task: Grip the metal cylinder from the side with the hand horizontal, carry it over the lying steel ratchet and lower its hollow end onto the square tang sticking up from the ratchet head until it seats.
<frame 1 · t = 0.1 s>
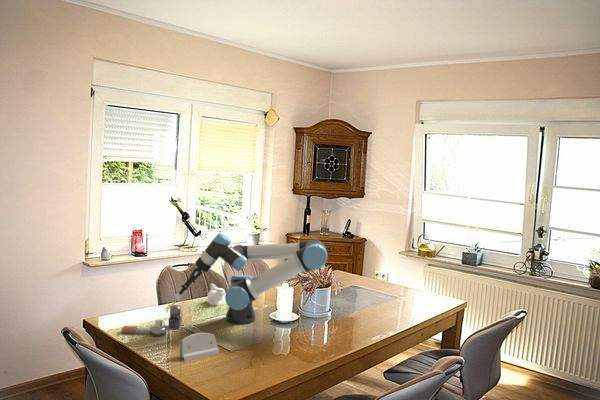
hand: (179, 294, 257), 15 cm above the table, tool tilted 35°, fingers open, 13 cm apart
hinge: (198, 355, 224), on the table
ratchet: (158, 334, 245), on the table
rabbit: (215, 304, 295), on the table
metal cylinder: (174, 326, 256), on the table
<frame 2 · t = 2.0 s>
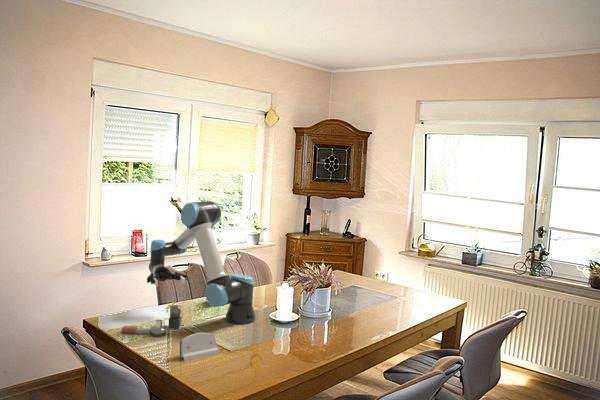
hand: (171, 282, 262), 19 cm above the table, tool horizontal, fingers open, 13 cm apart
nothing on the table moved.
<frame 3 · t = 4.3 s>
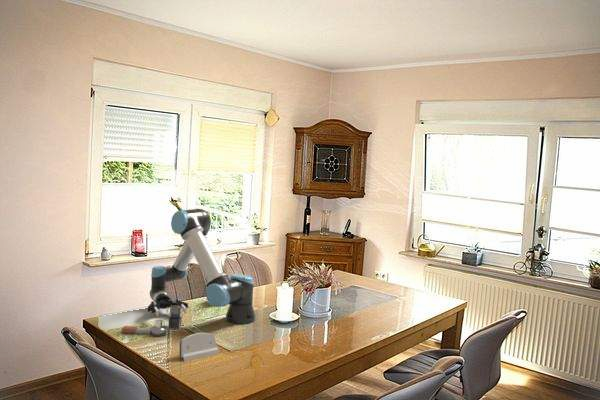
hand: (171, 312, 259), 6 cm above the table, tool horizontal, fingers open, 13 cm apart
nothing on the table moved.
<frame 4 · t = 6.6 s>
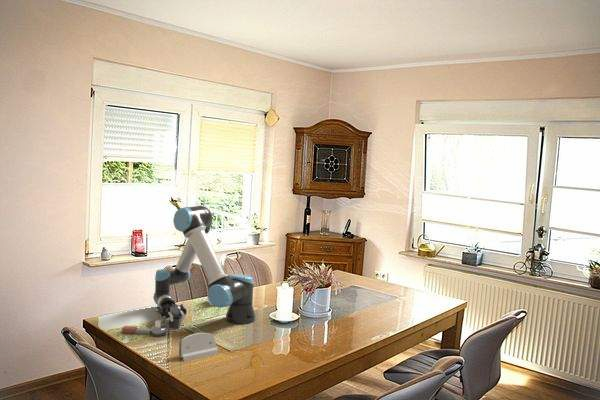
hand: (178, 318, 250), 6 cm above the table, tool horizontal, fingers closed on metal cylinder, 5 cm apart
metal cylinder: (174, 326, 256), on the table, touching gripper
everything else where it was.
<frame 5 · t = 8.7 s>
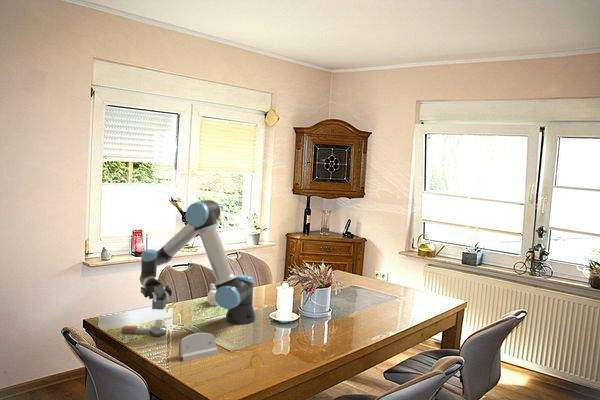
hand: (161, 298, 240), 18 cm above the table, tool horizontal, fingers closed on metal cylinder, 5 cm apart
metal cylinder: (159, 307, 245), point 12 cm above the table, touching gripper
everything else where it was.
when the fingers open (10 cm above the table, at t = 11.0 s): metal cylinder stays where it is, resting on ratchet.
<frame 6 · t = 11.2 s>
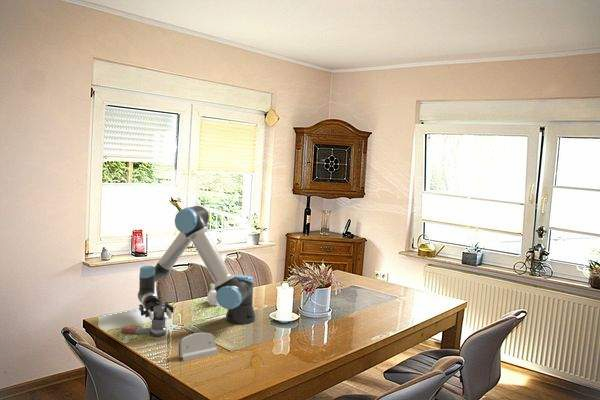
hand: (161, 316, 240), 10 cm above the table, tool horizontal, fingers open, 8 cm apart
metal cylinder: (158, 327, 245), point 3 cm above the table, touching ratchet
everything else where it was.
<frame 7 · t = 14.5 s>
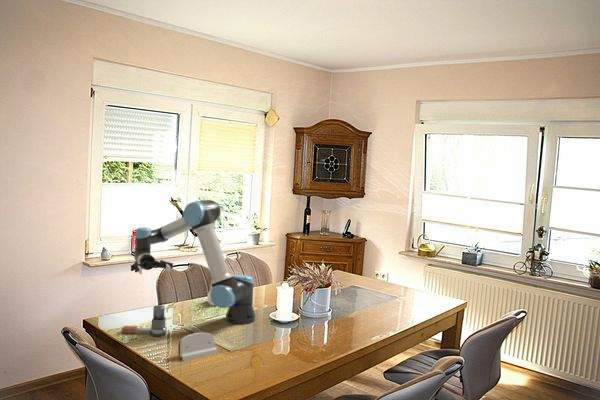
hand: (155, 270, 251), 28 cm above the table, tool horizontal, fingers open, 13 cm apart
nothing on the table moved.
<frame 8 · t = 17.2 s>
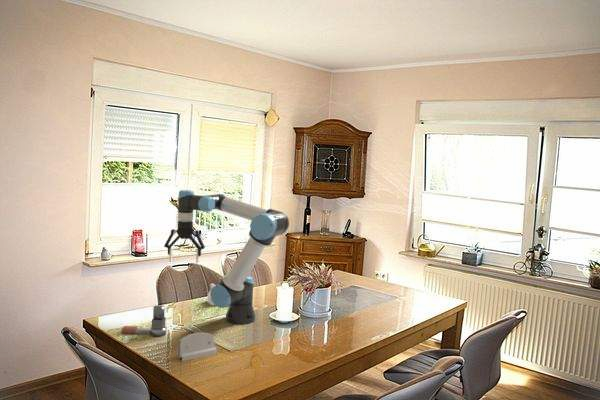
hand: (184, 261, 269), 29 cm above the table, tool pointing down, fingers open, 13 cm apart
nothing on the table moved.
at the end: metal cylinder 0.1 cm off-centre on the ratchet, point 3.0 cm above the ratchet's base; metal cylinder tilted 0°; the gripper is holding nothing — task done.
